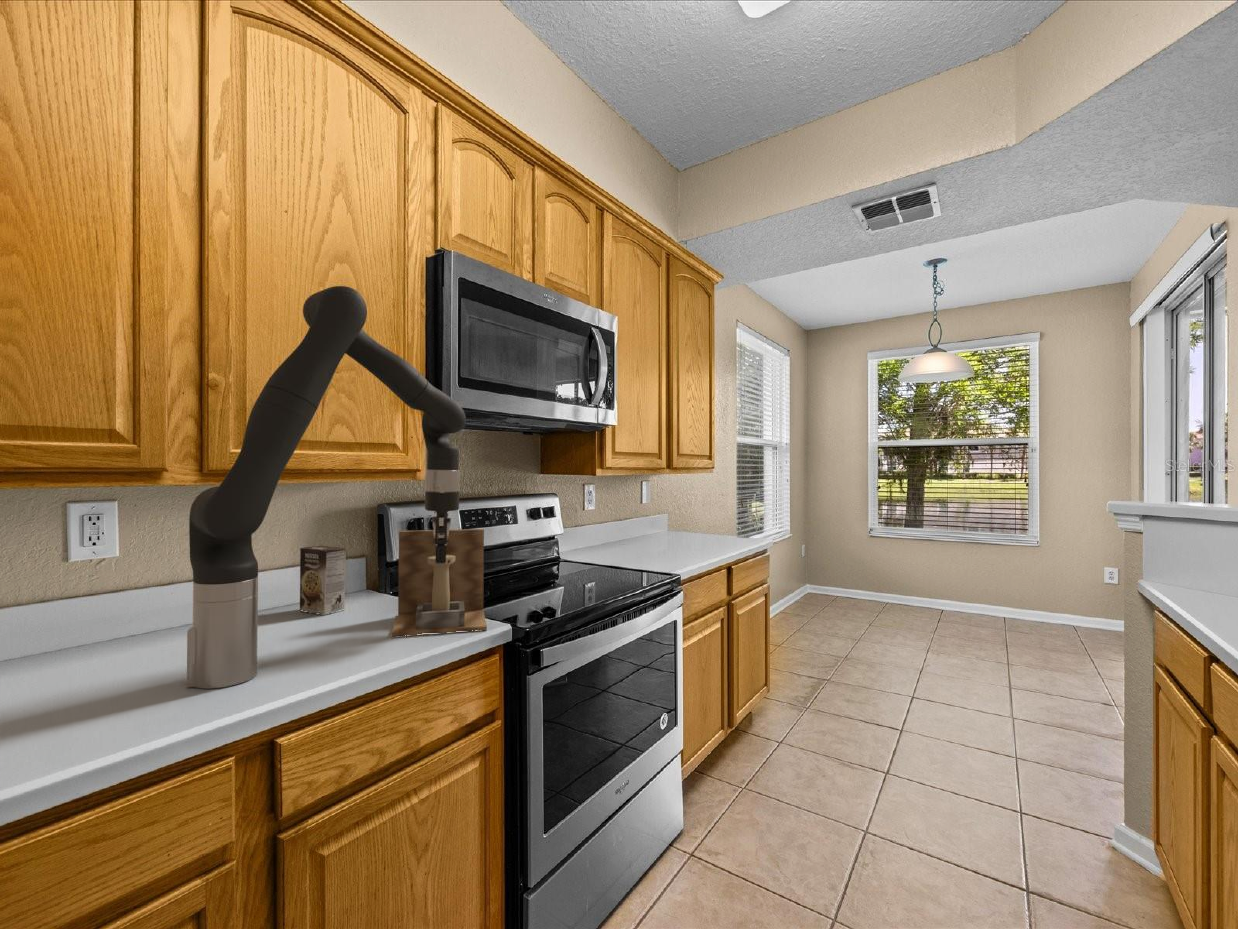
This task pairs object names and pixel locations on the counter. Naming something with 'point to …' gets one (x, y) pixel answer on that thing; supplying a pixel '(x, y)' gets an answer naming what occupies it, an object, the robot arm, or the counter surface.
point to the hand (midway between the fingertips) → (441, 560)
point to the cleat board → (419, 583)
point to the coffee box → (322, 579)
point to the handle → (441, 583)
